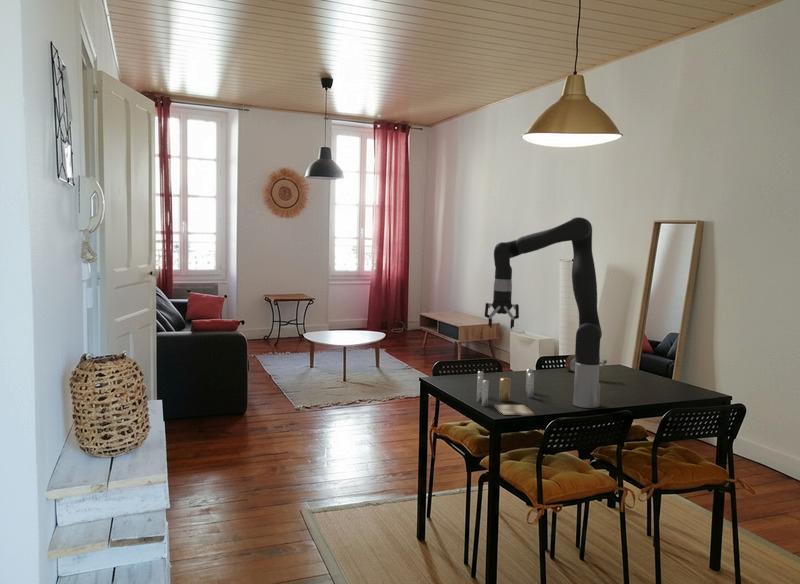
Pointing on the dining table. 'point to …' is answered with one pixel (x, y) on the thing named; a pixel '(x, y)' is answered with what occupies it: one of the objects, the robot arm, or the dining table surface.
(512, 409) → the birch pad
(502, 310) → the robot arm
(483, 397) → the steel posts
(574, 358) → the tin
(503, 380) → the bronze spacer
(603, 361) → the mechanical component
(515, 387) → the dining table surface
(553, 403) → the dining table surface
